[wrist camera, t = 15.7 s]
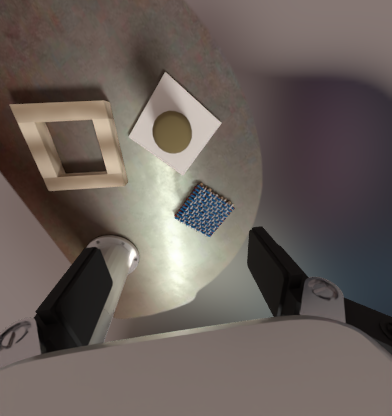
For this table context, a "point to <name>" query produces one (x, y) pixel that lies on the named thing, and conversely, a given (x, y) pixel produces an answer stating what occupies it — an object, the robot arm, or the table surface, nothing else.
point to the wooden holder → (46, 152)
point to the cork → (172, 132)
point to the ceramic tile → (183, 103)
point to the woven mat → (204, 210)
